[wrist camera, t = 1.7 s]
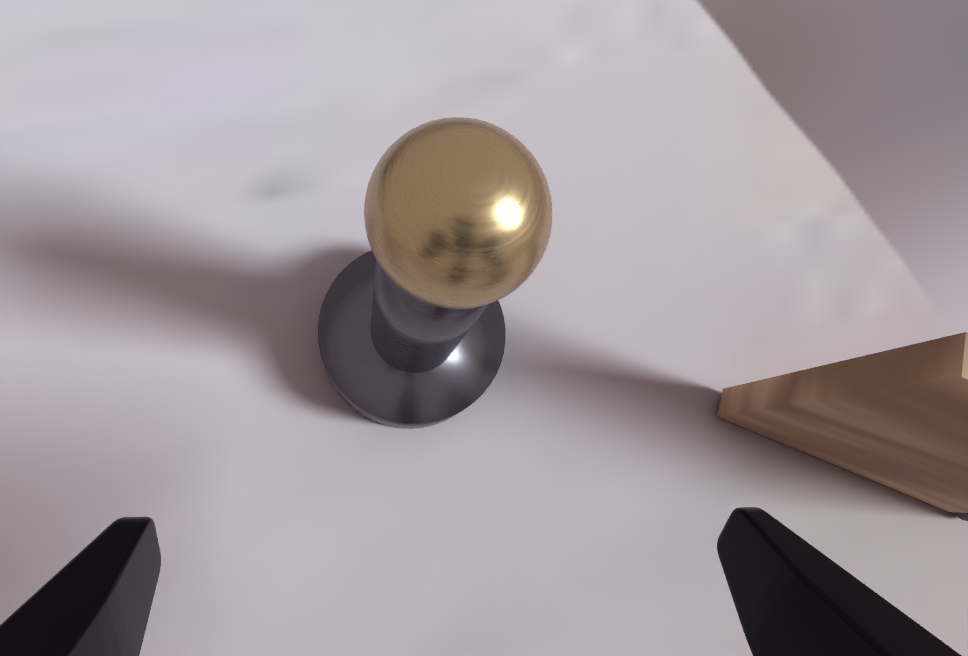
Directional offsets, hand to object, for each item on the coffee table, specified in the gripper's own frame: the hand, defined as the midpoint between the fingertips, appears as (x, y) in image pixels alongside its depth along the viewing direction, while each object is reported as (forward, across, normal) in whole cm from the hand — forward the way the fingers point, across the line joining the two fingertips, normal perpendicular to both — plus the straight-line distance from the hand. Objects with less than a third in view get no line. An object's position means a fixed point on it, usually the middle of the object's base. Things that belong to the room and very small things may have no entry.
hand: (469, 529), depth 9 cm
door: (+9, -18, +7) cm, 22 cm away
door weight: (+12, 0, +5) cm, 13 cm away
